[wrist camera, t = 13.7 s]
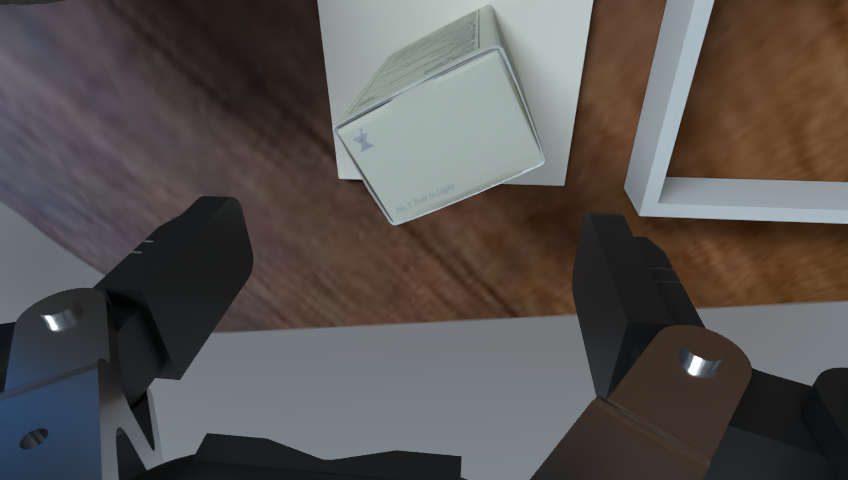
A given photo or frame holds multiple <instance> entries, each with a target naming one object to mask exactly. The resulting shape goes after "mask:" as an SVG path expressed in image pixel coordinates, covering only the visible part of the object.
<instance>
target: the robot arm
mask: <svg viewBox="0 0 848 480" xmlns="http://www.w3.org/2000/svg"><path fill="white" fill-rule="evenodd" d="M133 251H134V252H133V253H130V254H129V255H128V256H127V257H126V258H125V259H124V260H122V261H121V262H120V263H119V264H118V265H117V266H116V267H115V268H114V269H113V270H112V271H111V272H109V273H108V274H107V275H106V276H105V277H104V278H103V279H102V280H101V281H100V282H99V283H97V284H96V285H95V286H94V287H93V288H77V289H71V290H66V291H62V292H59V293H56V294H53V295H51V296H48V297H46V298H44V299H42V300H40V301H39V302H37V303H35V304H34V305H32V306H31V307H29V308H28V309H27V310H26V311H25V312H23V313H22V314H21V316H20V317H19V318H18V320H17V321H16V322H12V323H5V324H0V480H467V479H464V478H461V477H460V476H461V456H452V455H440V454H430V453H419V452H408V451H397V450H396V451H389V452H383V453H376V454H369V455H362V456H356V457H349V458H343V459H335V460H323V459H320V458H317V457H314V456H312V455H309V454H306V453H303V452H301V451H298V450H296V449H293V448H290V447H288V446H285V445H282V444H280V443H277V442H274V441H272V440H269V439H265V438H254V437H243V436H232V435H221V434H210V433H207V434H206V436H205V438H204V439H203V441H202V443H201V445H200V447H199V448H198V450H197V452H196V454H194V455H189V456H185V457H181V458H178V459H174V460H171V461H169V462H166V463H164V462H163V457H162V450H161V443H160V437H159V431H158V425H157V418H156V413H155V406H154V399H153V396H152V393H151V391H150V389H149V385H150V384H151V383H152V381H153V380H154V379H155V378H164V379H175V380H180V379H181V377H182V376H183V374H184V373H185V371H186V370H187V369H188V367H189V366H190V364H191V363H192V361H193V359H194V358H195V357H196V355H197V354H198V352H199V351H200V349H201V347H202V346H203V345H204V343H205V342H206V340H207V339H208V337H209V336H210V334H211V333H212V331H213V330H214V329H215V327H216V326H217V324H218V323H219V321H220V320H221V318H222V317H223V315H224V314H225V312H226V311H227V309H228V308H229V306H230V305H231V303H232V302H233V300H234V299H235V297H236V296H237V294H238V293H239V291H240V290H241V289H242V287H243V286H244V284H245V283H246V281H247V280H248V278H249V276H250V274H251V271H252V267H253V252H252V248H251V244H250V240H249V236H248V232H247V228H246V224H245V220H244V216H243V212H242V208H241V205H240V203H239V201H238V200H237V199H236V198H234V197H213V196H202V197H200V198H199V199H197V200H196V201H195V202H194V203H193V204H192V205H191V206H190V207H189V208H188V209H187V210H186V211H185V212H184V213H183V214H182V215H180V216H178V217H176V218H174V219H172V220H171V221H169V222H167V223H165V224H163V225H161V226H159V227H158V228H157V229H156V230H155V231H154V232H153V233H152V234H151V235H150V236H149V237H147V238H146V239H145V242H142V243H141V244H140V245H139V246H138V247H137V248H135V249H134V250H133ZM679 281H680V280H679V278H678V276H677V275H676V273H675V271H674V270H672V265H671V264H670V262H669V260H668V258H667V256H666V254H665V252H664V251H663V250H662V249H660V248H659V247H658V246H657V245H655V244H654V243H653V242H652V241H650V240H649V239H648V238H647V237H633V235H632V232H631V230H630V228H629V226H628V224H627V222H626V220H625V218H624V216H623V215H622V214H613V213H589V212H587V213H586V214H585V216H584V218H583V222H582V227H581V233H580V238H579V243H578V248H577V253H576V259H575V264H574V269H573V278H572V290H573V298H574V302H575V306H576V311H577V315H578V319H579V323H580V328H581V332H582V336H583V341H584V345H585V349H586V353H587V358H588V362H589V366H590V371H591V375H592V379H593V383H594V388H595V392H596V398H595V399H594V400H593V401H592V402H591V403H590V404H589V405H588V407H587V408H586V409H585V410H584V412H583V413H582V414H581V415H580V417H579V418H578V419H577V420H576V422H575V423H574V424H573V426H572V427H571V428H570V429H569V431H568V432H567V433H566V435H565V436H564V437H563V438H562V440H561V441H560V442H559V443H558V445H557V446H556V447H555V448H554V450H553V451H552V452H551V453H550V455H549V456H548V457H547V459H546V460H545V461H544V462H543V464H542V465H541V466H540V467H539V469H538V470H537V471H536V472H535V474H534V475H533V476H532V477H531V479H530V480H848V368H832V369H828V370H826V371H824V372H822V373H821V374H820V375H819V376H818V377H817V379H816V381H815V382H814V384H813V386H809V385H805V384H802V383H798V382H795V381H791V380H788V379H784V378H781V377H777V376H774V375H770V374H767V373H764V372H761V371H758V370H756V369H753V368H752V367H751V363H750V361H749V359H748V358H747V356H746V355H745V354H744V352H743V351H742V350H741V349H740V348H739V347H738V346H737V345H735V344H734V343H733V342H732V341H730V340H729V339H727V338H725V337H724V336H722V335H720V334H718V333H716V332H713V331H711V330H708V329H706V328H705V326H704V324H703V323H702V321H701V319H700V317H699V315H698V313H697V311H696V310H695V308H694V306H693V304H692V302H691V300H690V299H689V297H688V295H687V293H686V291H685V289H684V287H683V286H682V284H680V283H679Z"/></svg>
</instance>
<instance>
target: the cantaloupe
mask: <svg viewBox="0 0 848 480" xmlns="http://www.w3.org/2000/svg"><path fill="white" fill-rule="evenodd" d="M58 1H64V0H0V4H17V5H31V4H45V3H53V2H58Z"/></svg>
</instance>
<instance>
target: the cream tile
mask: <svg viewBox="0 0 848 480" xmlns="http://www.w3.org/2000/svg"><path fill="white" fill-rule="evenodd" d="M317 1H318V10H319V18H320V26H321V35H322V43H323V51H324V59H325V68H326V76H327V84H328V93H329V101H330V109H331V118H332V126H334V125H335V124H336V123H337V121H338V120H339V119H340V117H341V116H342V115H343V114H344V112H345V111H346V110H347V109H348V107H349V106H350V105H351V104H352V102H353V101H354V100H355V99H356V97H357V96H358V95H359V93H360V92H361V91H362V90H363V88H364V87H365V86H366V85H367V83H368V82H369V81H370V79H371V78H372V77H373V76H374V74H375V73H376V72H377V71H378V69H379V68H380V67H381V66H382V64H383V63H384V62H385V61H386V59H387V58H388V57H389V56H390V55H392V54H393V53H395V52H397V51H399V50H400V49H402V48H404V47H406V46H408V45H409V44H411V43H413V42H415V41H417V40H419V39H421V38H422V37H424V36H426V35H428V34H430V33H432V32H434V31H436V30H438V29H439V28H441V27H443V26H445V25H447V24H449V23H451V22H453V21H455V20H457V19H459V18H461V17H463V16H465V15H467V14H469V13H471V12H473V11H475V10H477V9H479V8H481V7H483V6H485V5H491V6H492V7H493V9H494V11H495V14H496V16H497V18H498V21H499V23H500V26H501V28H502V31H503V34H504V36H505V39H506V42H507V44H508V47H509V49H510V52H511V55H512V57H513V60H514V63H515V65H516V68H517V71H518V74H519V76H520V79H521V83H522V86H523V89H524V93H525V96H526V99H527V102H528V106H529V109H530V112H531V115H532V118H533V121H534V124H535V127H536V130H537V134H538V137H539V140H540V143H541V146H542V149H543V152H544V155H545V158H546V163H545V164H544V165H542V166H540V167H538V168H535V169H533V170H531V171H529V172H527V173H525V174H522V175H520V176H518V177H515V178H513V179H510V180H508V181H506V182H504V183H501V184H524V185H556V186H564V184H565V178H566V172H567V165H568V159H569V152H570V146H571V140H572V133H573V127H574V120H575V114H576V108H577V101H578V95H579V88H580V82H581V76H582V69H583V63H584V56H585V50H586V44H587V37H588V31H589V24H590V18H591V12H592V5H593V0H317ZM333 134H334V143H335V151H336V159H337V167H338V176H339V179H362V178H361V177H360V175H359V173H358V172H357V170H356V169H355V167H354V165H353V163H352V162H351V160H350V158H349V157H348V155H347V153H346V152H345V150H344V149H343V147H342V145H341V143H340V141H339V139H338V138H337V136H336V135H335V133H334V132H333Z"/></svg>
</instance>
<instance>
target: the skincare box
mask: <svg viewBox="0 0 848 480" xmlns="http://www.w3.org/2000/svg"><path fill="white" fill-rule="evenodd" d="M332 130H333V132H334V133H335V135H336V136H337V138H338V139H339V141H340V143H341V145H342V147H343V149H344V150H345V152H346V153H347V155H348V157H349V158H350V160H351V162H352V163H353V165H354V167H355V169H356V170H357V172H358V173H359V175H360V177H361V178H362V180H363V181H364V183H365V185H366V186H367V188H368V190H369V192H370V193H371V194H372V196H373V198H374V199H375V201H376V202H377V204H378V205H379V207H380V208H381V210H382V211H383V213H384V214H385V216H386V217H387V219H388V221H389V222H390V223H391V224H392V225H398V224H401V223H404V222H406V221H410V220H412V219H415V218H418V217H421V216H423V215H426V214H428V213H431V212H433V211H436V210H438V209H441V208H443V207H446V206H448V205H451V204H453V203H456V202H458V201H461V200H463V199H465V198H468V197H470V196H472V195H475V194H478V193H480V192H482V191H485V190H487V189H489V188H492V187H494V186H496V185H499V184H501V183H504V182H506V181H508V180H510V179H513V178H515V177H518V176H520V175H522V174H525V173H527V172H529V171H531V170H533V169H535V168H538V167H540V166H542V165H544V164H545V163H546V158H545V155H544V152H543V149H542V146H541V143H540V140H539V137H538V134H537V130H536V127H535V124H534V121H533V118H532V115H531V112H530V109H529V106H528V102H527V99H526V96H525V93H524V89H523V86H522V83H521V79H520V76H519V74H518V71H517V68H516V65H515V63H514V60H513V57H512V55H511V52H510V49H509V47H508V44H507V42H506V39H505V36H504V34H503V31H502V28H501V26H500V23H499V21H498V18H497V16H496V14H495V11H494V9H493V7H492V6H491V5H485V6H483V7H481V8H479V9H477V10H475V11H473V12H471V13H469V14H467V15H465V16H463V17H461V18H459V19H457V20H455V21H453V22H451V23H449V24H447V25H445V26H443V27H441V28H439V29H438V30H436V31H434V32H432V33H430V34H428V35H426V36H424V37H422V38H421V39H419V40H417V41H415V42H413V43H411V44H409V45H408V46H406V47H404V48H402V49H400V50H399V51H397V52H395V53H393V54H392V55H390V56H389V57H388V58H387V59H386V61H385V62H384V63H383V64H382V66H381V67H380V68H379V69H378V71H377V72H376V73H375V74H374V76H373V77H372V78H371V79H370V81H369V82H368V83H367V85H366V86H365V87H364V88H363V90H362V91H361V92H360V93H359V95H358V96H357V97H356V99H355V100H354V101H353V102H352V104H351V105H350V106H349V107H348V109H347V110H346V111H345V112H344V114H343V115H342V116H341V117H340V119H339V120H338V121H337V123H336V124H335V125H334V126H333V129H332Z"/></svg>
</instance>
